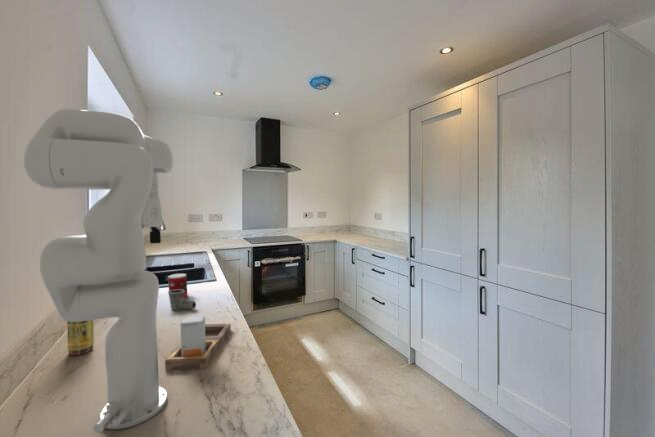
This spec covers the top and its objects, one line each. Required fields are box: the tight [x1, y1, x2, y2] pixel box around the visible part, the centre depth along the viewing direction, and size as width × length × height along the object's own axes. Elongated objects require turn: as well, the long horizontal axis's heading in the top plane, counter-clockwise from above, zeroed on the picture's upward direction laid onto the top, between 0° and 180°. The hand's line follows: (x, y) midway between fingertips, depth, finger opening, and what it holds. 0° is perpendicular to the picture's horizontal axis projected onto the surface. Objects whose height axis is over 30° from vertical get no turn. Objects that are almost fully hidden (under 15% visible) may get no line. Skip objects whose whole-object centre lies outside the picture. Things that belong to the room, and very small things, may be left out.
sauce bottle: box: [66, 320, 95, 356], centre depth 90 cm, size 6×6×20 cm
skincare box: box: [180, 315, 206, 357], centre depth 86 cm, size 6×4×12 cm
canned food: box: [167, 273, 188, 299], centre depth 142 cm, size 8×8×11 cm
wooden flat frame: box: [164, 323, 232, 371], centre depth 92 cm, size 24×11×3 cm, turn 2°
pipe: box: [167, 289, 197, 311], centre depth 126 cm, size 6×13×8 cm, turn 76°
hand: (146, 245), depth 91 cm, fingers open, 9 cm apart
